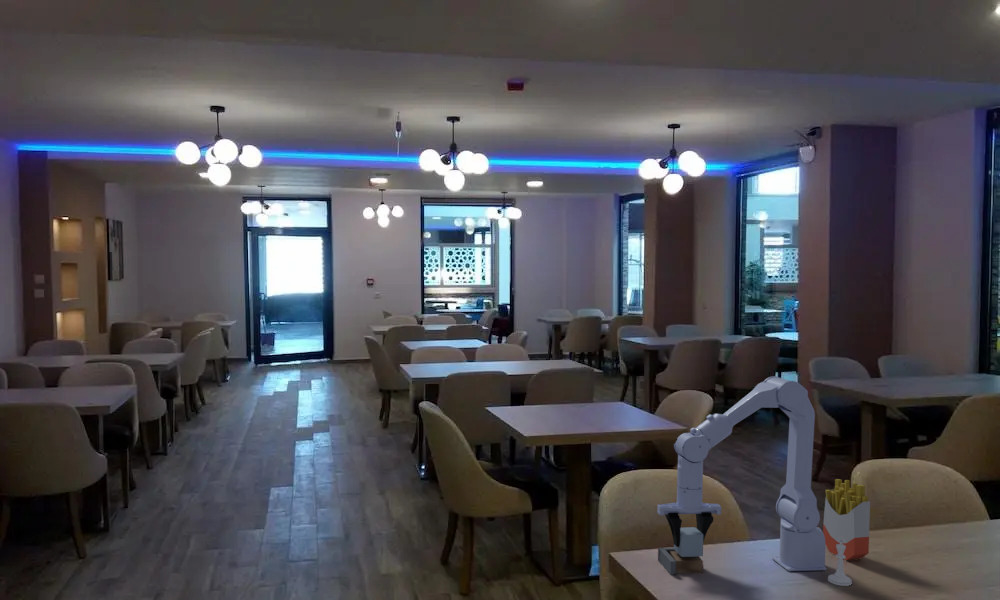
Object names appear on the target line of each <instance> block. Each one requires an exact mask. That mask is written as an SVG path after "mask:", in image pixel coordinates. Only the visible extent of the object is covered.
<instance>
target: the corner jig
mask: <svg viewBox="0 0 1000 600" xmlns="http://www.w3.org/2000/svg"><path fill="white" fill-rule="evenodd" d="M670 551H675V550H674V546H673V547H658V549H657V561H658V562H659V563H660V565H661V566H662V565H663V566H664V567H663V566H662V567H663V568H664V569H665V570H666V572H667V573H668V572H669V573H668V574H669V575H670V576H672V575H673V576H674V574H677V573H676V561H675V560H674V559H673V558H672V557H671V555H670Z"/></svg>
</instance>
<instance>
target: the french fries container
mask: <svg viewBox="0 0 1000 600" xmlns="http://www.w3.org/2000/svg"><path fill="white" fill-rule="evenodd" d="M851 484H852V487H851V486H850V485H851ZM865 494H866V485H863V484H858V483H855V482H854V483H850V480H849V479H845V480H844V482H843V479H839V478H836V479H834V488H832V489H825V500H824V511H823V512H824V513H823V522H822V523H823V529H822V532H823V534H824V537H825V547H826V548H827V549H828V551H829V553H830V552H831V553H833V554H835V555H836V554H838V551H837V548H836V545H837V544H840V542H837V539H840V537H842V539H843V540H845V542H842V544H843V545H845V546H846V548H845V551H844V553H843V555H845V556H846V558H845V560H849V561H852V560H851V559H860V558H861V559H863V558H864V557H866V556H867V555H868V554H870V553H869V551H870V550H869V549H870V520H871V519H870V514H871V501H870V500H869V496H866V495H865ZM831 553H830V554H831ZM833 554H832V555H833ZM835 555H834V556H835ZM861 559H860V560H861ZM845 560H844V561H845Z"/></svg>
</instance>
